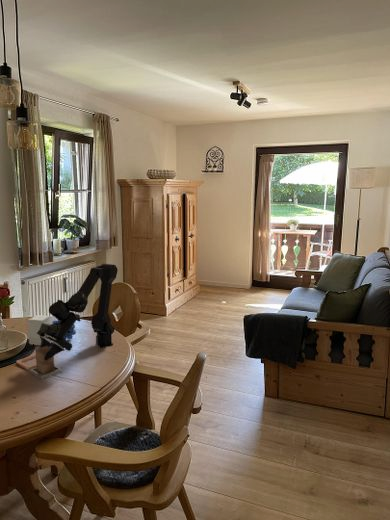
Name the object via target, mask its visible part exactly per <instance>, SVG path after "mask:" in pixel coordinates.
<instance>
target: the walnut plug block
mask: <svg viewBox="0 0 390 520" xmlns="http://www.w3.org/2000/svg"><path fill="white" fill-rule="evenodd" d="M50 348H51V347H49V346H44V347H41V348H40V347H38V348H35V350H34V351H35V355H36V358H35V362H36V363H35V365H36V366H37V371H36V372H37V373H39V374H40V375H44V374H47V373H49V372H52V371H55V369H54V365H55V357H54V356H55V355H54V356H53V357H51V358H49V359H48V360H44V358H45V356H46V354H47V353H48V351H49V349H50Z"/></svg>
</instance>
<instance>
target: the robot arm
mask: <svg viewBox="0 0 390 520" xmlns="http://www.w3.org/2000/svg"><path fill="white" fill-rule="evenodd" d="M118 270H119V269H118V267H117V265H116V264H113V263H111V264H110V263H102V264H101V265H96V266H93V267H91V268H90V270H89V273H88V274H87V276H86V278H85V279H84V281H83V282H82V284H81V285H80V287H79V289H78V290H77V292H75V293H74V294H72V295H71V296H70V297H69V298H68V300H67V301H66V302H64V301H63V300H61V299H57V301H56V302H54V303H52V304H51V305H50V306H49V308H48V313H49V314H50V315H52V317H54V318H55V319H57V321H58V320H60V321H59V322H58V323H54V324H52V323H50V324H45V323H42V324H41V327H40V330H39V331H38V332H37V334H38V335H40V338H41V345H39V348H41V347H44V346H49V347H51V348H50V349H49V351H48V353H47V354H46V356H45V358H44V360H48V359H49V358H51V357H53V356H56V355H57V354H59V353H61V352H65V350H66V351H67V352H71V350H72V349H73V344H72V343H71V342H69V341H68V339H66V340H65V339H64V337H65V336H66V335H67V333H69V334H70V332H71V331H69V330H70V329H71V327H72V326H73V324H74V325H75V323H76V321H77V322H78V323H80V322H81V316H80V314H81V313H83V312H84V311H85V310H86V308H87V306H88V303H89V296H90V295H91V293H92V291H93V289H94V288H95V286H96V284H97V283H98V281H99V279H100V282H101V284H100V290H99V299H98V304H97V305H98V306H97V312H96V313H95V314H94V315H92V317H91V323H90V324H91V328H92V330H93V333H96V336H95V345H97V346H98V348H100V349H101V348H106V347H110V346H114V343H113V339H112V337H113V336H112V335H113V333H115V327H114V326H113V325H112V324H111V323H112V321H111V317H110V314H109V308H110V302H111V294H112V293H111V292H112V285H113V283H114V282H115V280H116V278H117V275H118ZM77 313H78V314H77ZM79 313H80V314H79Z"/></svg>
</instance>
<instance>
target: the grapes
mask: <svg viewBox="0 0 390 520" xmlns="http://www.w3.org/2000/svg"><path fill="white" fill-rule="evenodd" d="M59 321H60V320H58V319H57V320H55V319H54V320H53V321H52V323H51V324H54V323H58V322H59ZM75 328H76V325H75V323H74V324H73V326H72V327H71V329H70V330H69V331H71V332H70V334H69V333H67V335H66V336H65V337H64V339H65V340H72V339H73V336H74V335H76V334H77V331H76V329H75Z"/></svg>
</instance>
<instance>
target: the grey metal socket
mask: <svg viewBox="0 0 390 520" xmlns="http://www.w3.org/2000/svg"><path fill="white" fill-rule="evenodd" d="M54 370H55V371H52V372H49V373H47V374H44V375H41V374H39V373H37V367H36V368H34V369H31V370H29V372H30V373H31V374H32V375H34V376H35V377H37V378H39V379H40V380H43V379H45V378H47V377H50V376H53V375H57V374H59V373H61V372H62V368H60V367H58V365H57V366H56V364H54Z"/></svg>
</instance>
